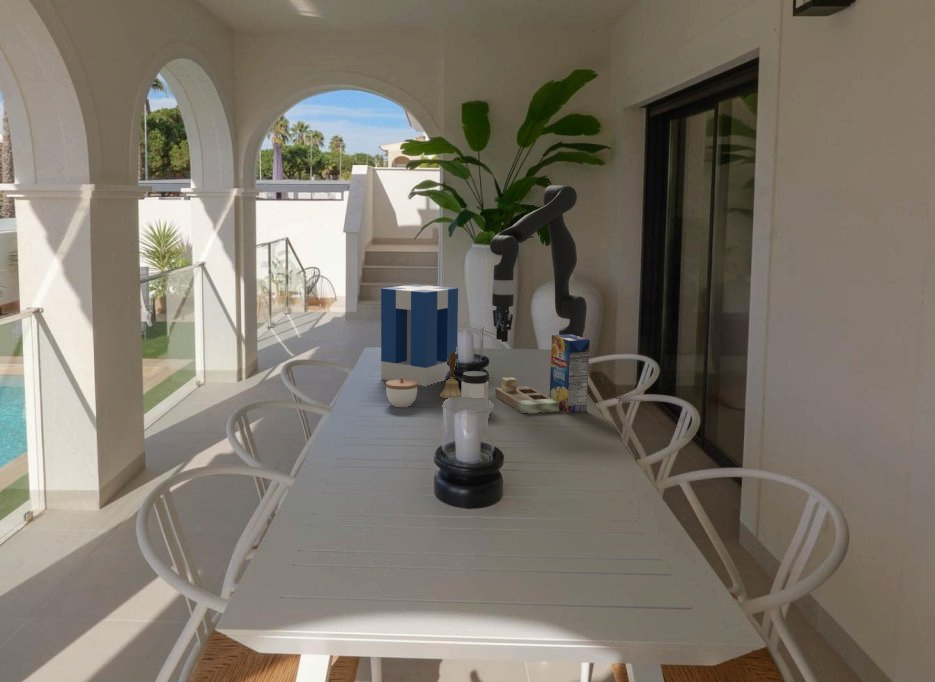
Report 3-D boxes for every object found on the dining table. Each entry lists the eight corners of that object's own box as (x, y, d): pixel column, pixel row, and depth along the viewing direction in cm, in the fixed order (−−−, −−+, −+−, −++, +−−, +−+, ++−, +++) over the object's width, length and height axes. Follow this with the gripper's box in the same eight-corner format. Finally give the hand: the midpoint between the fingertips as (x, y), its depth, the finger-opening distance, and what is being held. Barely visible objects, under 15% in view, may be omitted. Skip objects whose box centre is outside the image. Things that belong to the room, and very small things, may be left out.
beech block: (512, 388, 280) (512, 377, 279) (516, 390, 276) (516, 379, 276) (501, 389, 279) (501, 377, 278) (505, 391, 275) (506, 380, 274)
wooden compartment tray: (529, 394, 285) (529, 386, 284) (559, 411, 261) (559, 402, 261) (495, 396, 281) (495, 388, 280) (522, 413, 257) (522, 404, 257)
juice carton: (549, 404, 270) (551, 335, 266) (568, 403, 273) (571, 334, 269) (567, 413, 259) (569, 340, 255) (586, 411, 262) (589, 339, 258)
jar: (492, 409, 262) (493, 374, 260) (473, 413, 256) (474, 377, 254) (475, 404, 268) (476, 369, 266) (456, 407, 263) (457, 372, 261)
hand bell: (467, 395, 281) (467, 351, 279) (456, 400, 274) (457, 354, 271) (446, 392, 285) (446, 348, 282) (435, 397, 278) (436, 352, 275)
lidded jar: (422, 403, 269) (422, 376, 267) (410, 410, 259) (410, 382, 257) (393, 400, 272) (393, 373, 271) (380, 407, 262) (380, 379, 261)
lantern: (456, 376, 312) (458, 288, 306) (425, 386, 294) (426, 292, 288) (413, 370, 323) (414, 284, 317) (381, 379, 305) (381, 288, 299)
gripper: (520, 294, 274) (519, 343, 277) (505, 290, 287) (504, 337, 290) (500, 295, 272) (499, 344, 274) (486, 290, 285) (485, 337, 288)
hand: (501, 340), depth 282 cm, fingers open, 4 cm apart
